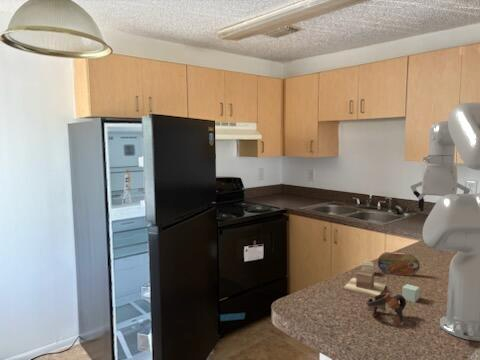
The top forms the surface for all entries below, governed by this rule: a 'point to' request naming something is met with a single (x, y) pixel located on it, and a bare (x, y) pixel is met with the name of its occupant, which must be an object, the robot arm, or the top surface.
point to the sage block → (410, 292)
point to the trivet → (374, 291)
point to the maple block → (368, 266)
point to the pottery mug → (393, 303)
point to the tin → (398, 263)
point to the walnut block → (365, 279)
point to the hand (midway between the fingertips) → (437, 212)
